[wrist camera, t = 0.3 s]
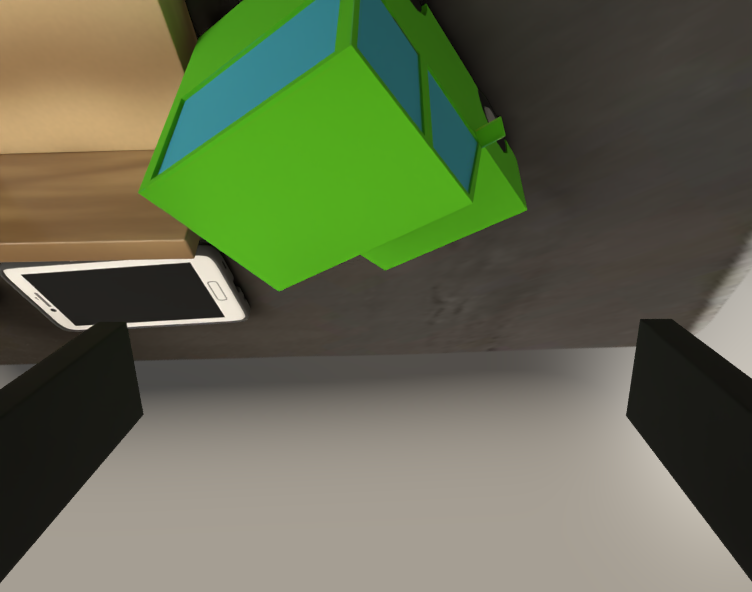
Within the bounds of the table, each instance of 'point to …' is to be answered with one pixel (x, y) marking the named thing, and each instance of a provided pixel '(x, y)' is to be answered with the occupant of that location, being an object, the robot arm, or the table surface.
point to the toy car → (330, 139)
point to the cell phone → (131, 291)
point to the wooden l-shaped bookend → (87, 127)
